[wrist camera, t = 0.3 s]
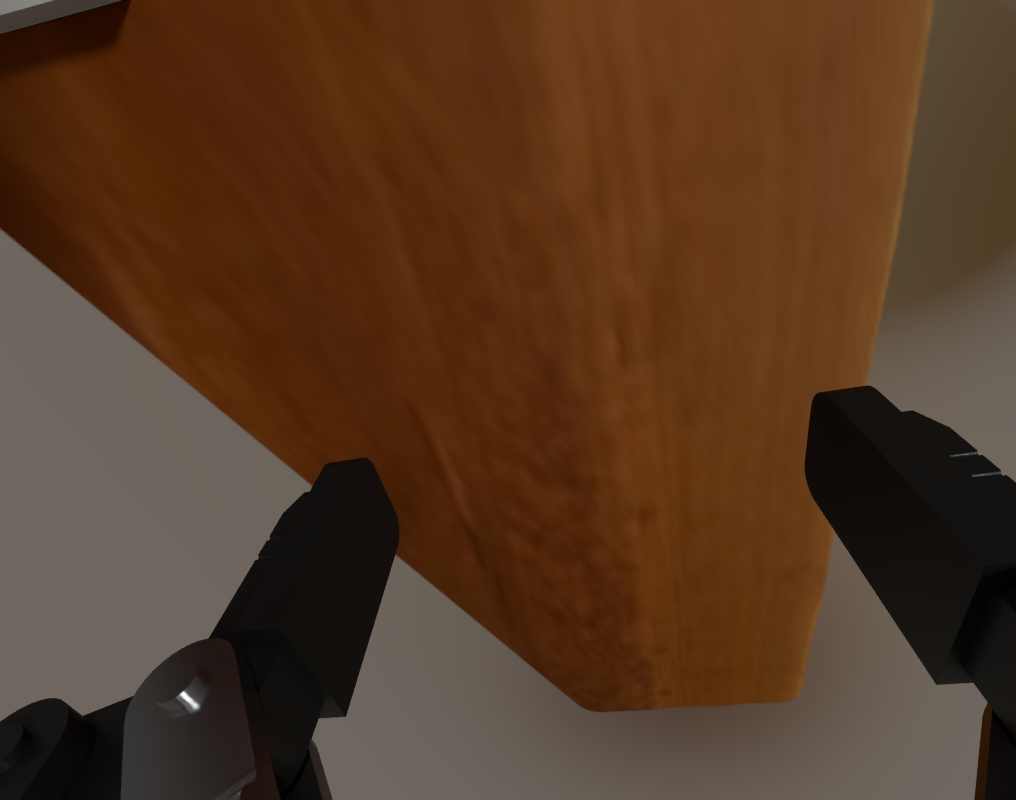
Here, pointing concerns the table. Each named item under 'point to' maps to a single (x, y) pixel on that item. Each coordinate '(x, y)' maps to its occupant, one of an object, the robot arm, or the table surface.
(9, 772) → the robot arm
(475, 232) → the table surface
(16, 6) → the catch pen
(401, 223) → the table surface
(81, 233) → the table surface
